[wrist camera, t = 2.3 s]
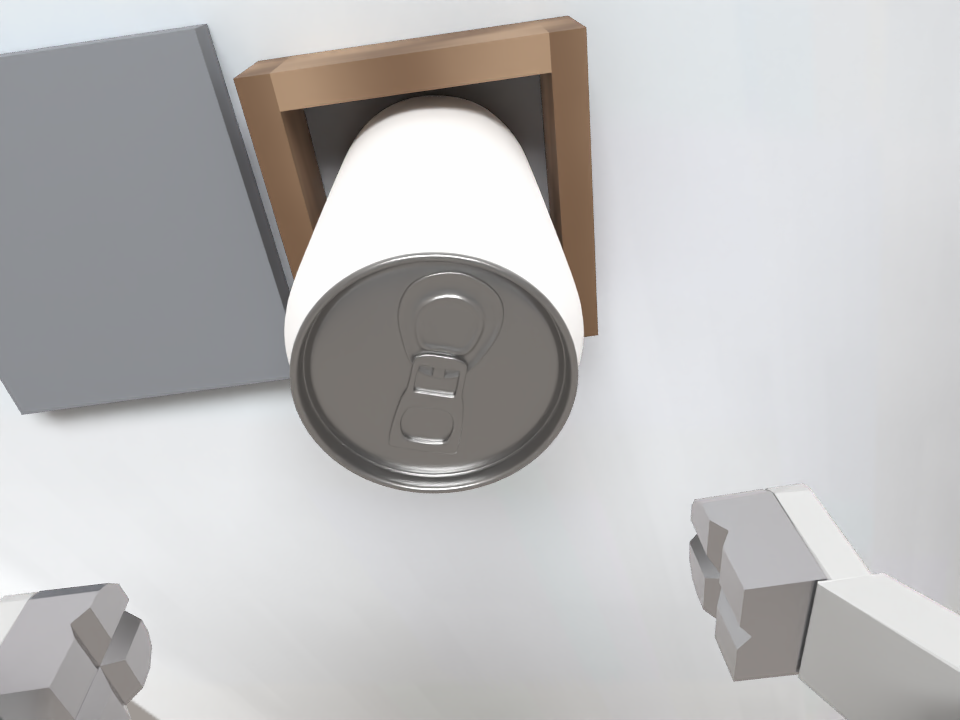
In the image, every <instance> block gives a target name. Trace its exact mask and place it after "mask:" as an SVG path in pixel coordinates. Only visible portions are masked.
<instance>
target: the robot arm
mask: <svg viewBox="0 0 960 720" xmlns="http://www.w3.org/2000/svg"><path fill="white" fill-rule="evenodd" d="M691 522H692V524H693V526H694V528H695V530H696V533H697V534H696V536H695V537H694V538H693V539H692V540H691V541H690V542H689V561H690V567H691V574H692V579H693V583H694V586H695V589H696V593H697V595H698V598H699V600H700V603H701V605H702V608H703V609H704V610H705V611H706V612H708V613H709V614H710V615H712V616H713V617H715V618H716V627H715V639H716V641H717V644H718V646H719V648H720V651H721V653H722V655H723V658H724V660H725V662H726V665H727V667H728V669H729V672H730V674H731V677H732V679H733V681H742V680H751V679H760V678H769V677H778V676H787V675H796V674H799V675H798V678H799V679H800V680H801V681H803V682H804V683H805V684H806V685H807V686H808V687H809V688H811V689H812V690H813V691H814V692H815V693H816V694H818V695H819V696H820V697H821V698H822V699H823V700H824V701H826V702H827V703H828V704H829V705H830V706H831V707H833V708H834V709H835V710H836V711H837V712H838V713H840V714H841V715H842V716H843V717H844V718H845V719H846V720H960V615H959V614H957V613H955V612H953V611H951V610H950V609H948V608H946V607H944V606H942V605H941V604H939V603H937V602H935V601H934V600H932V599H930V598H928V597H926V596H925V595H923V594H921V593H919V592H917V591H916V590H914V589H912V588H910V587H908V586H907V585H905V584H903V583H901V582H899V581H898V580H896V579H894V578H892V577H890V576H889V575H887V574H885V573H876V574H872V573H871V572H870V570H869V569H868V568H867V566H866V565H865V563H864V562H863V561H862V559H861V558H860V557H859V555H858V554H857V552H856V551H855V550H854V548H853V547H852V545H851V544H850V543H849V541H848V540H847V538H846V537H845V536H844V534H843V533H842V532H841V530H840V529H839V527H838V526H837V525H836V523H835V522H834V520H833V519H832V518H831V516H830V515H829V513H828V512H827V511H826V509H825V508H824V507H823V505H822V504H821V502H820V501H819V500H818V498H817V497H816V495H815V494H814V493H813V491H812V490H811V488H810V487H808V486H806V485H805V484H803V483H800V484H793V485H787V486H780V487H773V488H767V489H765V490H764V489H760V490H753V491H746V492H740V493H733V494H727V495H720V496H714V497H707V498H701V499H695V500H694V502H693V504H692V508H691ZM128 601H129V598H128V597H127V595H126V594H125V592H124V591H123V589H122V588H121V586H120V585H119V584H114V583H105V584H97V585H88V586H79V587H71V588H62V589H54V590H45V591H39V592H33V593H25V594H16V595H8V596H4V597H3V598H1V599H0V720H131V717H130V714H129V711H128V709H127V706H126V704H127V703H128V702H129V701H130V700H131V699H132V698H133V697H134V696H135V695H136V694H137V693H138V692H139V691H140V690H141V689H142V688H143V686H144V684H145V681H146V678H147V675H148V672H149V670H150V663H151V650H152V645H151V641H150V636H149V632H148V630H147V628H146V626H145V625H144V623H143V621H142V620H141V619H139V618H138V617H136V616H134V615H132V614H130V613H128V612H126V611H125V609H126V606H127V603H128Z"/></svg>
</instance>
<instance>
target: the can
mask: <svg viewBox="0 0 960 720" xmlns="http://www.w3.org/2000/svg"><path fill="white" fill-rule="evenodd" d="M284 337H285V347H286V353H287V358H288V362H289V365H290V386H291V392H292V397H293V401H294V404H295V407H296V410H297V412H298V415H299V417H300V419H301V421H302V423H303V424H304V426H305V428H306V429H307V431H308V432H309V434H310V435H311V437H312V438H313V439H314V440H315V442H316V443H317V444H318V445H319V446H320V447H321V448H322V449H323V450H324V451H325V452H326V453H327V454H328V455H329V456H330V457H331V458H332V459H334V460H335V461H336V462H338V463H339V464H340V465H342V466H343V467H345V468H346V469H348V470H350V471H351V472H353V473H355V474H357V475H359V476H361V477H363V478H365V479H367V480H369V481H372V482H374V483H377V484H380V485H383V486H386V487H390V488H394V489H398V490H403V491H410V492H418V493H450V492H459V491H465V490H470V489H474V488H478V487H482V486H485V485H488V484H491V483H494V482H496V481H499V480H501V479H503V478H506V477H508V476H510V475H512V474H513V473H515V472H517V471H519V470H520V469H522V468H523V467H525V466H526V465H528V464H529V463H531V462H532V461H533V460H534V459H536V458H537V457H538V456H539V455H540V454H541V453H542V452H543V451H544V450H545V449H546V448H547V447H548V446H549V445H550V444H551V443H552V442H553V441H554V439H555V438H556V437H557V435H558V434H559V432H560V431H561V429H562V428H563V426H564V424H565V423H566V421H567V419H568V417H569V414H570V412H571V410H572V407H573V404H574V401H575V397H576V392H577V386H578V367H579V364H580V360H581V355H582V350H583V341H584V325H583V316H582V309H581V304H580V299H579V296H578V292H577V289H576V286H575V283H574V280H573V277H572V274H571V271H570V268H569V266H568V263H567V260H566V257H565V255H564V252H563V250H562V247H561V244H560V242H559V239H558V236H557V234H556V231H555V229H554V226H553V223H552V221H551V218H550V216H549V213H548V210H547V208H546V205H545V203H544V200H543V198H542V195H541V193H540V190H539V187H538V185H537V182H536V180H535V177H534V175H533V172H532V170H531V167H530V165H529V163H528V160H527V158H526V156H525V154H524V152H523V150H522V148H521V146H520V144H519V142H518V141H517V139H516V138H515V136H514V135H513V134H512V132H511V131H510V130H509V129H508V128H507V126H506V125H505V124H504V123H503V122H502V121H501V120H500V119H498V118H497V117H496V116H495V115H494V114H492V113H491V112H490V111H488V110H487V109H486V108H484V107H482V106H481V105H479V104H476V103H474V102H471V101H469V100H465V99H461V98H457V97H450V96H420V97H414V98H409V99H406V100H403V101H400V102H398V103H395V104H393V105H391V106H389V107H387V108H386V109H384V110H383V111H381V112H380V113H378V114H377V115H376V116H375V117H373V118H372V119H371V120H370V121H369V122H368V123H367V124H366V125H365V126H364V127H363V129H362V130H361V131H360V132H359V134H358V135H357V136H356V138H355V139H354V141H353V143H352V145H351V146H350V148H349V150H348V152H347V154H346V157H345V159H344V161H343V163H342V166H341V168H340V170H339V172H338V175H337V177H336V179H335V182H334V184H333V187H332V189H331V191H330V194H329V196H328V198H327V201H326V203H325V205H324V208H323V210H322V213H321V215H320V217H319V220H318V222H317V225H316V227H315V229H314V232H313V234H312V237H311V239H310V242H309V244H308V247H307V249H306V251H305V254H304V256H303V259H302V261H301V264H300V266H299V269H298V272H297V274H296V277H295V280H294V283H293V286H292V289H291V292H290V295H289V299H288V304H287V309H286V316H285V326H284Z"/></svg>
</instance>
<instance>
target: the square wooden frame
mask: <svg viewBox="0 0 960 720" xmlns="http://www.w3.org/2000/svg"><path fill="white" fill-rule="evenodd" d="M538 74H540V86H541V100H542V113H543V127H544V140H545V154H546V168H547V181H548V195H549V208H550V218H551V221H552V223H553V226H554V229H555V231H556V234H557V236H558V239H559V242H560V244H561V247H562V250H563V252H564V255H565V257H566V260H567V263H568V266H569V268H570V271H571V274H572V277H573V280H574V283H575V286H576V289H577V292H578V296H579V299H580V304H581V309H582V316H583V325H584V337H587V336H595V335H598V322H597V296H596V270H595V243H594V217H593V191H592V165H591V138H590V112H589V86H588V60H587V33H586V27H585V26H583V25H582V24H580V23H579V22H577V21H576V20H574V19H572V18H571V17H569V16H563V17H557V18H550V19H543V20H536V21H529V22H522V23H515V24H509V25H502V26H495V27H488V28H481V29H474V30H468V31H461V32H454V33H447V34H440V35H433V36H426V37H420V38H413V39H406V40H399V41H392V42H385V43H379V44H372V45H365V46H358V47H351V48H344V49H338V50H331V51H324V52H317V53H310V54H303V55H296V56H290V57H283V58H276V59H269V60H262V61H258V62H256V63H255V64H253V65H252V66H251V67H249V68H248V69H246V70H245V71H244V72H242V73H241V74H239V75H238V76H237V77H235V78H234V83H235V86H236V89H237V93H238V96H239V99H240V103H241V106H242V109H243V112H244V116H245V119H246V122H247V126H248V129H249V132H250V136H251V139H252V142H253V146H254V149H255V152H256V156H257V159H258V162H259V166H260V169H261V172H262V175H263V179H264V182H265V185H266V189H267V192H268V195H269V199H270V202H271V205H272V209H273V212H274V215H275V219H276V222H277V225H278V228H279V232H280V235H281V238H282V242H283V245H284V248H285V252H286V255H287V258H288V262H289V265H290V268H291V272H292V275H293V278H294V280H295V277H296V274H297V272H298V269H299V266H300V264H301V261H302V259H303V256H304V254H305V251H306V249H307V247H308V244H309V242H310V239H311V237H312V234H313V232H314V229H315V227H316V225H317V222H318V220H319V217H320V215H321V213H322V210H323V208H324V205H325V203H326V201H327V198H326V194H325V191H324V187H323V183H322V179H321V175H320V171H319V167H318V163H317V159H316V155H315V151H314V147H313V144H312V140H311V136H310V132H309V128H308V124H307V120H306V116H305V112H304V108H309V107H316V106H323V105H330V104H337V103H344V102H351V101H358V100H364V99H371V98H378V97H385V96H392V95H399V94H406V93H413V92H420V91H427V90H434V89H441V88H448V87H455V86H462V85H469V84H475V83H482V82H489V81H496V80H503V79H510V78H517V77H524V76H531V75H538Z"/></svg>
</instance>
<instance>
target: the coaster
mask: <svg viewBox="0 0 960 720" xmlns="http://www.w3.org/2000/svg"><path fill="white" fill-rule="evenodd" d="M289 295H290V292H289V288H288V285H287V282H286V279H285V275H284V272H283V269H282V266H281V262H280V259H279V256H278V253H277V249H276V246H275V243H274V240H273V236H272V233H271V230H270V227H269V224H268V220H267V217H266V214H265V211H264V207H263V204H262V201H261V198H260V194H259V191H258V188H257V185H256V181H255V178H254V175H253V172H252V168H251V165H250V162H249V159H248V156H247V152H246V149H245V146H244V143H243V139H242V136H241V133H240V130H239V126H238V123H237V120H236V117H235V113H234V110H233V107H232V104H231V101H230V97H229V94H228V91H227V88H226V84H225V81H224V78H223V75H222V71H221V68H220V65H219V62H218V58H217V55H216V52H215V49H214V45H213V42H212V39H211V36H210V33H209V29H208V26H207V24H202V25H196V26H189V27H182V28H175V29H168V30H162V31H155V32H148V33H141V34H135V35H128V36H121V37H114V38H108V39H101V40H94V41H87V42H80V43H74V44H67V45H60V46H53V47H47V48H40V49H33V50H26V51H20V52H13V53H6V54H0V379H1V381H2V383H3V384H4V386H5V388H6V389H7V391H8V393H9V394H10V396H11V397H12V399H13V401H14V402H15V404H16V406H17V407H18V409H19V410H20V412H21V414H22V415H24V414H31V413H38V412H46V411H53V410H61V409H68V408H76V407H83V406H91V405H98V404H105V403H113V402H120V401H128V400H135V399H143V398H150V397H157V396H165V395H172V394H180V393H187V392H195V391H202V390H210V389H217V388H224V387H232V386H239V385H247V384H254V383H262V382H269V381H276V380H284V379H290V365H289V362H288V358H287V353H286V347H285V337H284V326H285V316H286V309H287V304H288V299H289Z"/></svg>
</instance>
